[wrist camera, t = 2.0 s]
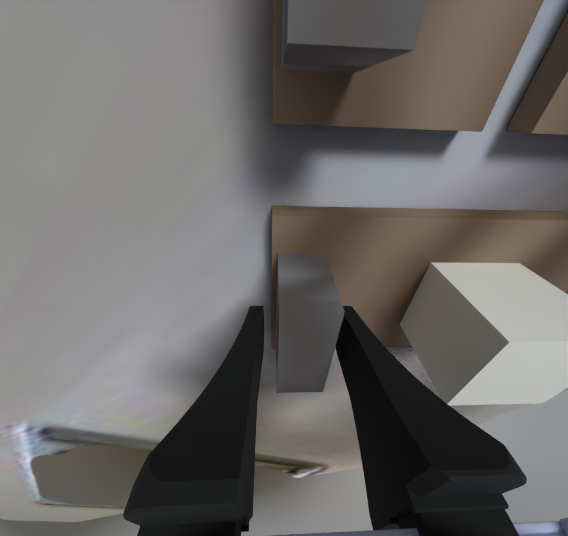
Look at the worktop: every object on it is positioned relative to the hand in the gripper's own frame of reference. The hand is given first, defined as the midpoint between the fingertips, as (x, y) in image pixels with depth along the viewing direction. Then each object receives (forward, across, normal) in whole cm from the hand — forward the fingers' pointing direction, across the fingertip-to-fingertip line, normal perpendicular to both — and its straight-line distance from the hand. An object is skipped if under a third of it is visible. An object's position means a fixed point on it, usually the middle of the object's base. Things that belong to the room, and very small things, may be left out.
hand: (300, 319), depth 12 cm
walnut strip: (+3, -8, 0) cm, 8 cm away
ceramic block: (+2, -10, 0) cm, 10 cm away
